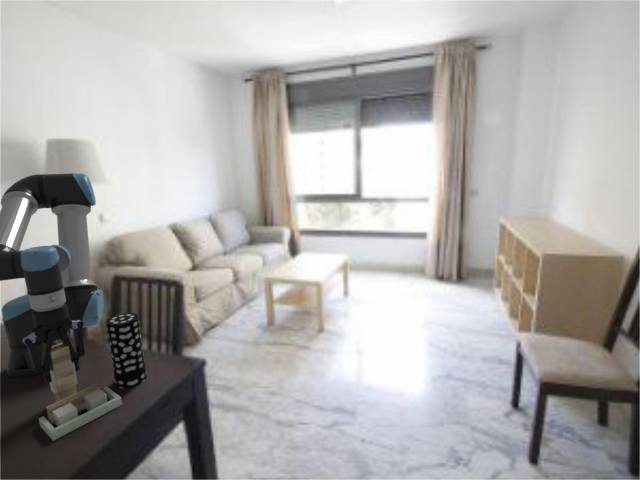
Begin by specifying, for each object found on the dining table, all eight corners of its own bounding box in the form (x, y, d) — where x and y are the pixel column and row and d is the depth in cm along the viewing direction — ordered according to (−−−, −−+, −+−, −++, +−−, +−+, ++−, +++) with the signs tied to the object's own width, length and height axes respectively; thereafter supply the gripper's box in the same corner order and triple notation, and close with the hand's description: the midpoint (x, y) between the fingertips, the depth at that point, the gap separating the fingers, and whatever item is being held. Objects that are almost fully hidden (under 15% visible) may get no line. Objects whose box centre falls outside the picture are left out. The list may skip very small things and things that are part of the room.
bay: (40, 427, 92) (38, 418, 91) (107, 394, 104) (106, 386, 104) (53, 441, 87) (51, 432, 86) (122, 405, 99) (121, 397, 99)
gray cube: (85, 409, 98) (83, 396, 97) (101, 401, 101) (99, 388, 100) (92, 415, 96) (90, 402, 95) (108, 407, 99) (106, 394, 98)
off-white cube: (55, 425, 92) (52, 411, 92) (72, 416, 96) (70, 402, 95) (61, 431, 90) (58, 417, 89) (79, 422, 93) (76, 408, 92)
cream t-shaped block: (38, 409, 98) (27, 354, 94) (87, 387, 107) (78, 336, 104) (52, 424, 92) (40, 366, 89) (103, 399, 101) (94, 346, 98)
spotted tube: (134, 390, 105) (124, 325, 101) (109, 387, 107) (98, 323, 103) (152, 374, 113) (144, 313, 109) (129, 371, 115) (120, 312, 111)
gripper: (12, 321, 86) (31, 409, 91) (91, 298, 100) (104, 376, 105) (3, 314, 91) (21, 398, 96) (79, 293, 104) (92, 368, 109)
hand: (64, 386), depth 100 cm, fingers closed on cream t-shaped block, 4 cm apart
